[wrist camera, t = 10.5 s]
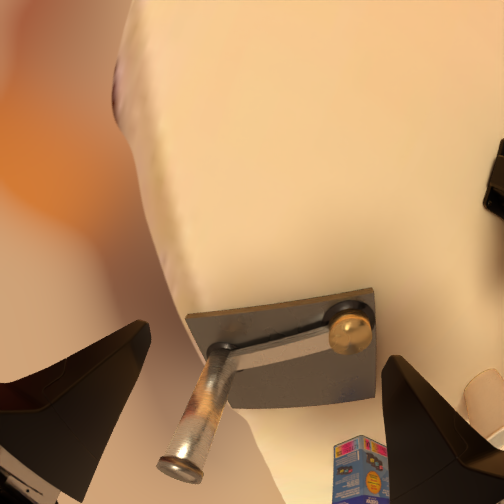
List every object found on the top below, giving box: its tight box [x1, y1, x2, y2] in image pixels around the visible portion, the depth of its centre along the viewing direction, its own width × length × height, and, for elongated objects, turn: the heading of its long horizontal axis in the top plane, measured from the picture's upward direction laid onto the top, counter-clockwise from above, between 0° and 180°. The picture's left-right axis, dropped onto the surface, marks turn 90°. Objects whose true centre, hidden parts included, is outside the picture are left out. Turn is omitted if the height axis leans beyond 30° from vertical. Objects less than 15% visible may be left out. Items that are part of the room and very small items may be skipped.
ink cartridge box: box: [332, 436, 390, 504], centre depth 26 cm, size 10×6×14 cm, turn 51°
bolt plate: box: [185, 288, 376, 409], centre depth 26 cm, size 14×17×1 cm
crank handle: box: [156, 308, 372, 484], centre depth 18 cm, size 16×4×13 cm, turn 117°
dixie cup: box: [464, 369, 504, 449], centre depth 19 cm, size 8×8×10 cm
